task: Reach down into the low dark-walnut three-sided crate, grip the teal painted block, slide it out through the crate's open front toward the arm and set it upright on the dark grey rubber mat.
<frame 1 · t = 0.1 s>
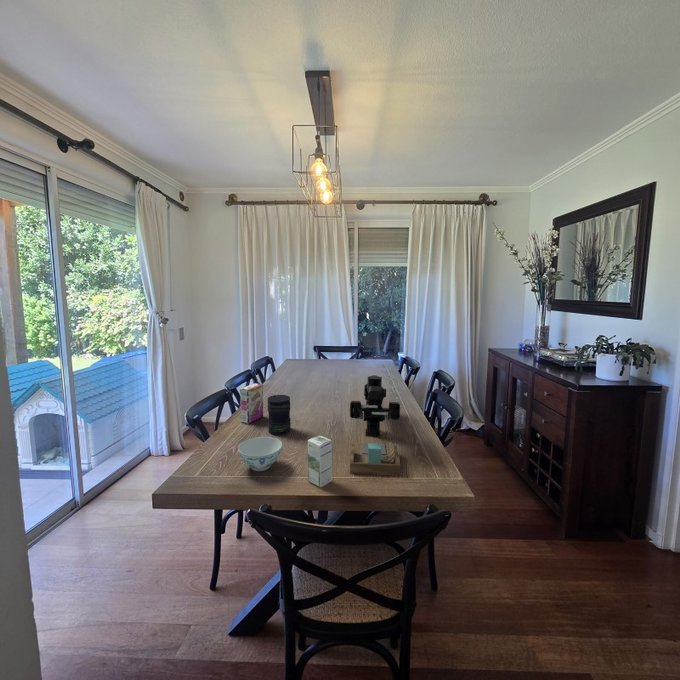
hand: (375, 418, 126), 17 cm above the table, tool horizontal, fingers open, 9 cm apart
storage jar: (279, 431, 155), on the table
teal block: (374, 461, 129), resting in walnut crate
grey rubber mat: (373, 448, 138), on the table
walnut crate: (374, 462, 128), on the table
chinaware: (260, 466, 125), on the table
syrup box: (319, 482, 115), on the table
candy bar box: (252, 419, 168), on the table
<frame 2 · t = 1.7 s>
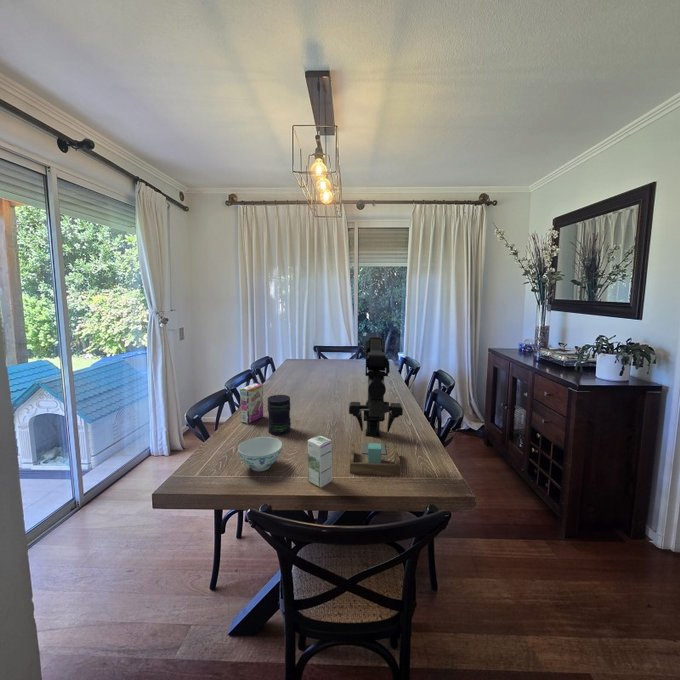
hand: (375, 431, 127), 11 cm above the table, tool pointing down, fingers open, 9 cm apart
nothing on the table moved.
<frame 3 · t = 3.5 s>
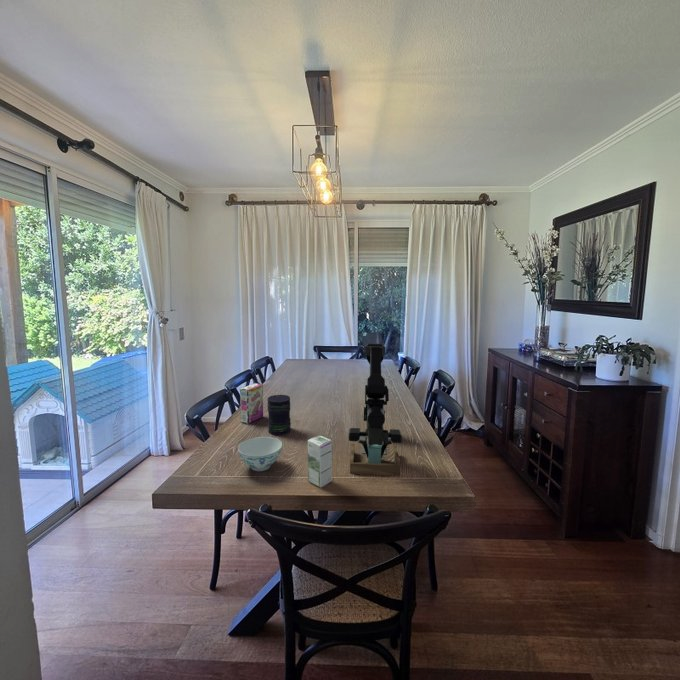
hand: (374, 457, 128), 2 cm above the table, tool pointing down, fingers closed on teal block, 4 cm apart
teal block: (374, 461, 129), resting in walnut crate, touching gripper
everything else where it was.
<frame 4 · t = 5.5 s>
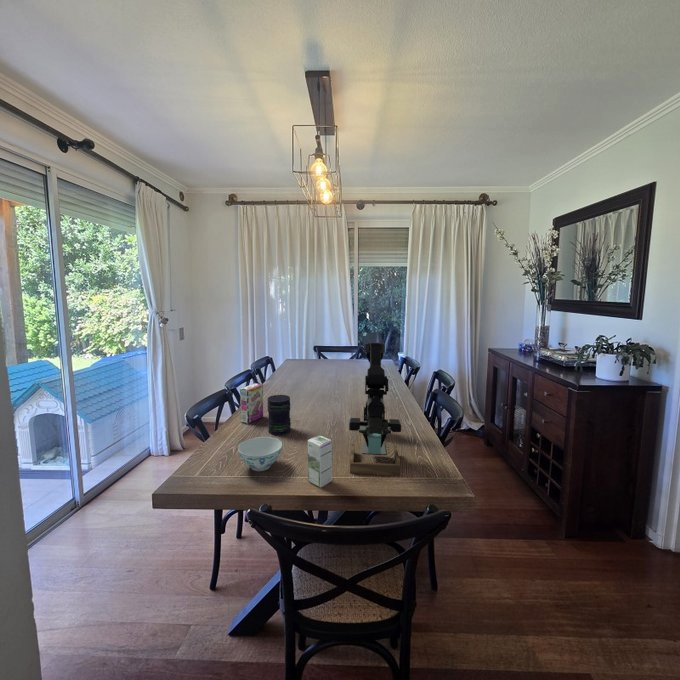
hand: (374, 446, 131), 4 cm above the table, tool pointing down, fingers closed on teal block, 4 cm apart
teal block: (374, 450, 131), point 3 cm above the table, touching gripper
everything else where it was.
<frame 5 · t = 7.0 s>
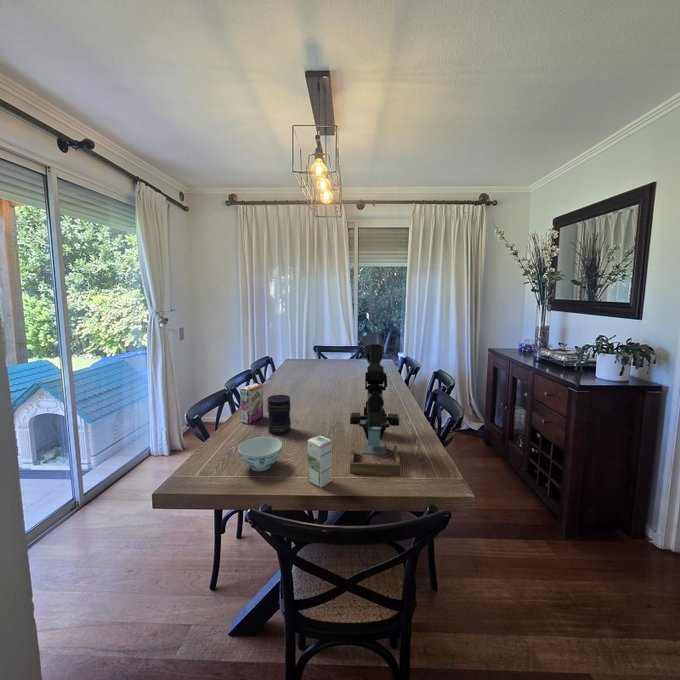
hand: (373, 439, 138), 4 cm above the table, tool pointing down, fingers closed on teal block, 4 cm apart
teal block: (373, 443, 138), point 2 cm above the table, touching gripper
everything else where it was.
when the fingers open (3 cm above the table, at t = 7.8 s): teal block drops 1 cm, resting on grey rubber mat.
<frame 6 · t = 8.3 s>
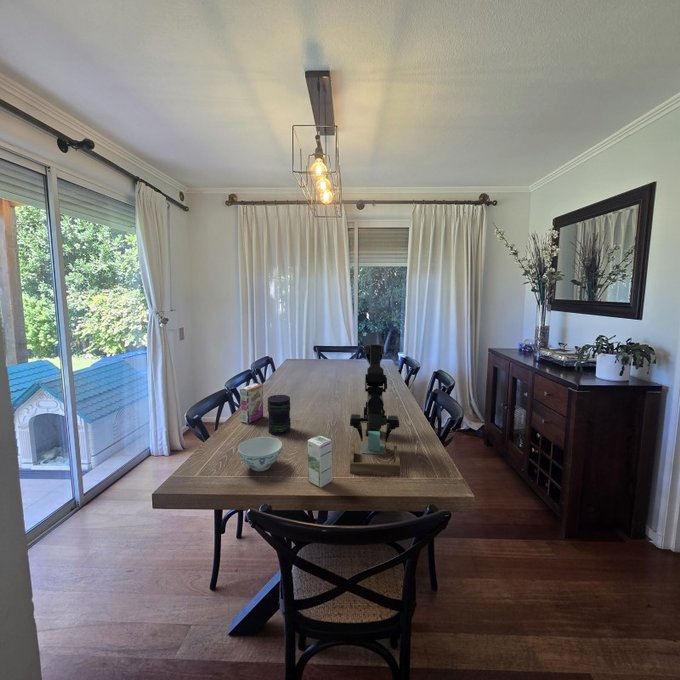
hand: (373, 441, 138), 3 cm above the table, tool pointing down, fingers open, 9 cm apart
teal block: (373, 448, 138), resting on grey rubber mat
everything else where it was.
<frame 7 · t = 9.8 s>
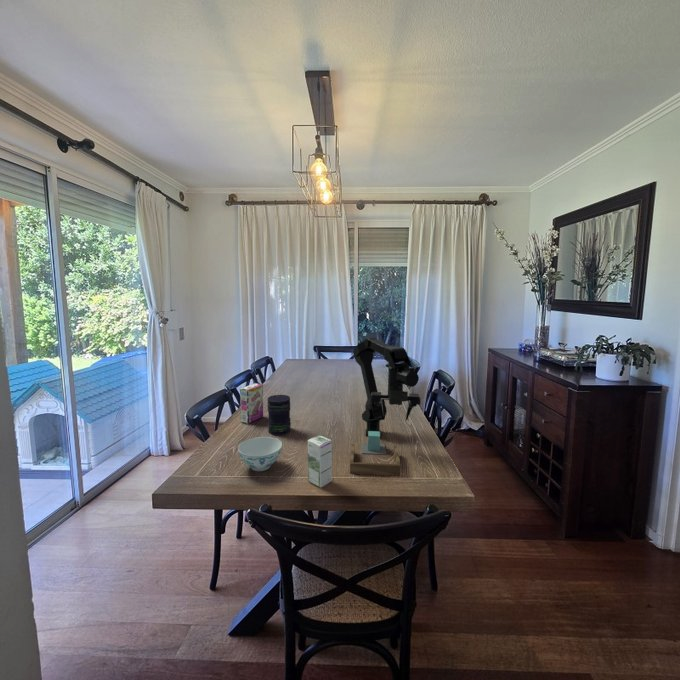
hand: (394, 419, 138), 12 cm above the table, tool pointing down, fingers open, 9 cm apart
nothing on the table moved.
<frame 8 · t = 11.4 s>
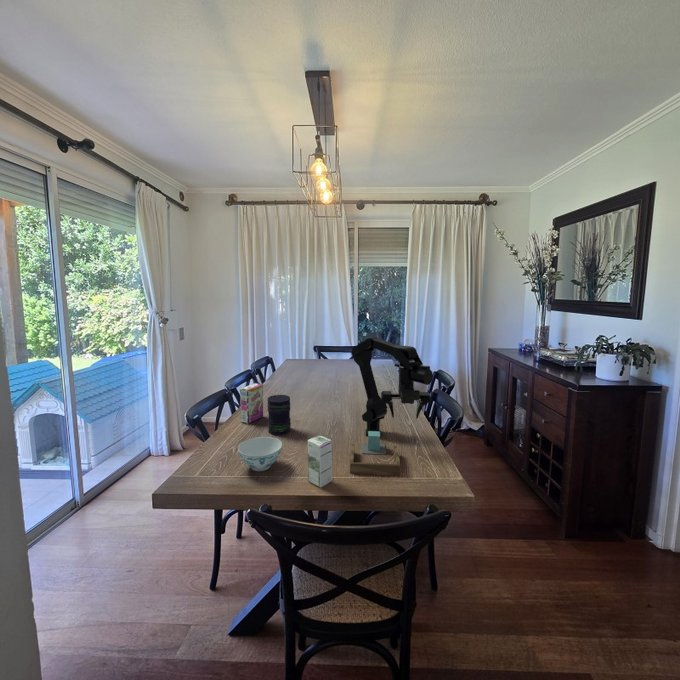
hand: (404, 417, 139), 12 cm above the table, tool pointing down, fingers open, 9 cm apart
nothing on the table moved.
at the end: teal block inside the target area (0.0 cm from its centre), resting on grey rubber mat; teal block tilted 0°; the gripper is holding nothing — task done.
